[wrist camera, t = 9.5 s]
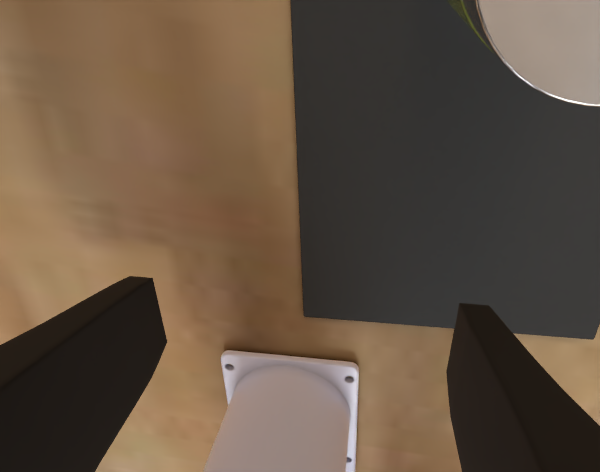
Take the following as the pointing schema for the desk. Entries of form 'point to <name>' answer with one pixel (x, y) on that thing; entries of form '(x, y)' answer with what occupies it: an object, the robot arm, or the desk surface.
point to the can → (542, 43)
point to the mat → (438, 175)
